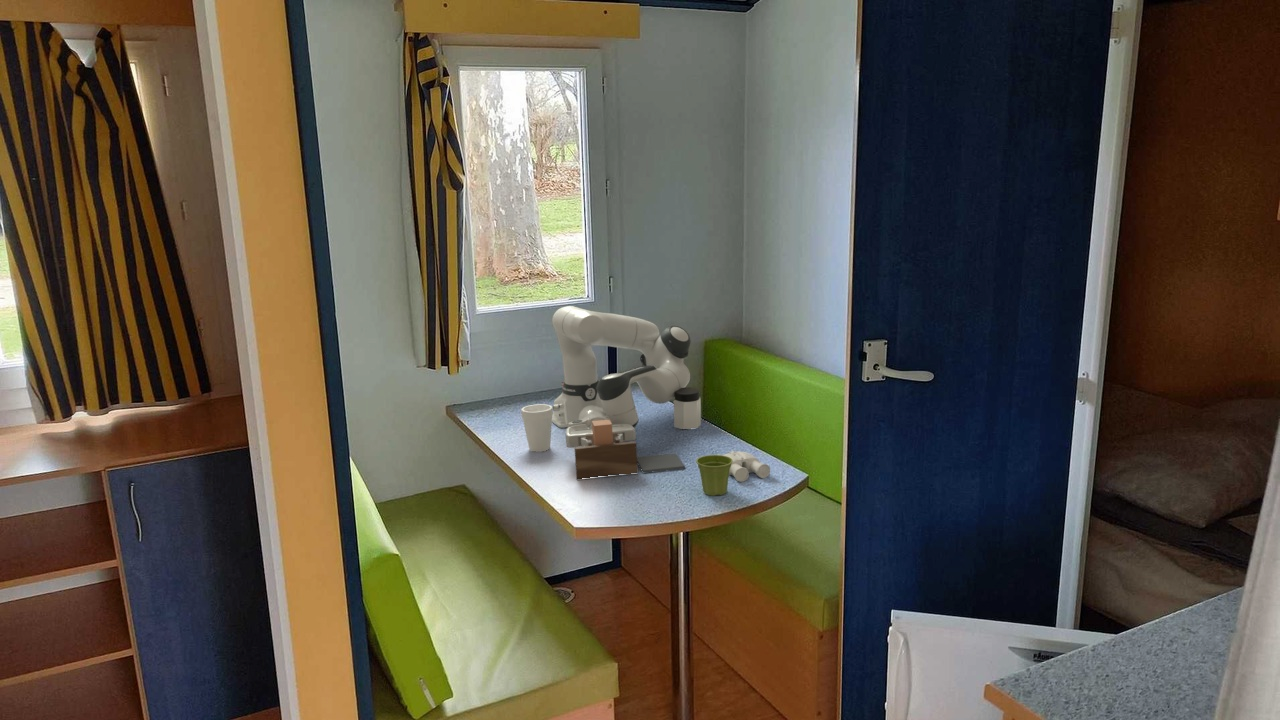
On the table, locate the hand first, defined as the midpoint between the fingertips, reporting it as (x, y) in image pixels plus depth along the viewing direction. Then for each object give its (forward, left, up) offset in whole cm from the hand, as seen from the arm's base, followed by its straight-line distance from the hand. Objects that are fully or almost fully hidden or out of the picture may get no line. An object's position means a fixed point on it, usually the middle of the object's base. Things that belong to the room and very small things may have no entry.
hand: (603, 443), depth 252 cm
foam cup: (-31, -5, -8) cm, 32 cm away
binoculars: (+25, +29, -9) cm, 39 cm away
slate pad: (+6, +15, -8) cm, 18 cm away
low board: (+4, -2, -8) cm, 9 cm away
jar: (-19, +43, -8) cm, 48 cm away
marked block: (-1, 0, -8) cm, 8 cm away
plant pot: (+33, +13, -8) cm, 37 cm away
